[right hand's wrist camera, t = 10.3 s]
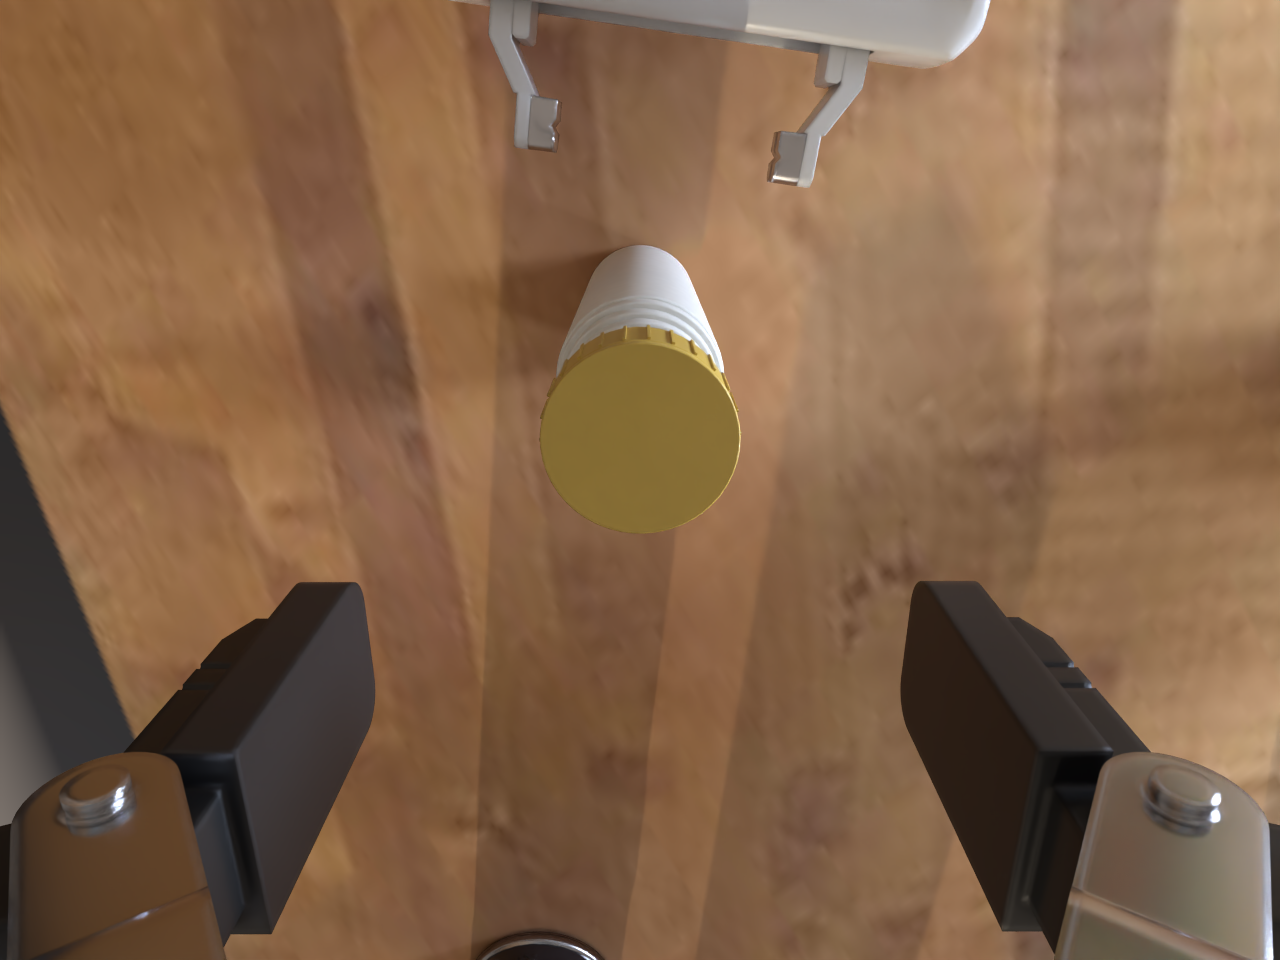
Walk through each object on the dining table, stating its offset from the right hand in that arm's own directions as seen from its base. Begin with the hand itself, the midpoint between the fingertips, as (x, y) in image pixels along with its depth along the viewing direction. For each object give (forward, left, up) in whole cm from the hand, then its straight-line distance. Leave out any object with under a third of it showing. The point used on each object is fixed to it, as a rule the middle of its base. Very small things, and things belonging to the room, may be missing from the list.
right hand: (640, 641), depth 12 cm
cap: (0, 0, -9) cm, 9 cm away
